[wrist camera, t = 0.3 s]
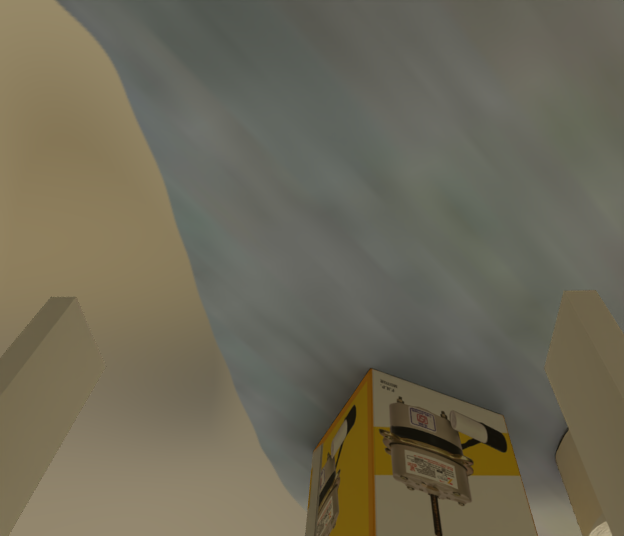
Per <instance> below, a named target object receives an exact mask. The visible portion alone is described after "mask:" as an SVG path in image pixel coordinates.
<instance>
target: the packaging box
mask: <svg viewBox="0 0 624 536" xmlns="http://www.w3.org/2000/svg"><path fill="white" fill-rule="evenodd" d="M305 536H538V534H537V531H536V527H535V524H534V520H533V517H532V513H531V510H530V506H529V503H528V499H527V496H526V493H525V489H524V486H523V482H522V479H521V475H520V472H519V468H518V465H517V461H516V458H515V454H514V451H513V447H512V444H511V440H510V437H509V434H508V430H507V427H506V423H505V420H504V416H503V415H500V414H497V413H495V412H492V411H489V410H486V409H483V408H481V407H478V406H475V405H472V404H469V403H467V402H464V401H461V400H458V399H455V398H453V397H450V396H447V395H444V394H441V393H439V392H436V391H433V390H430V389H428V388H425V387H422V386H419V385H416V384H414V383H411V382H408V381H405V380H402V379H400V378H397V377H394V376H391V375H388V374H386V373H383V372H380V371H377V370H374V369H372V368H371V369H370V370H369V371H368V373H367V374H366V376H365V377H364V378H363V380H362V381H361V383H360V384H359V386H358V387H357V389H356V390H355V392H354V393H353V394H352V396H351V397H350V399H349V400H348V402H347V403H346V405H345V406H344V408H343V409H342V410H341V412H340V413H339V415H338V416H337V418H336V419H335V421H334V422H333V424H332V425H331V426H330V428H329V429H328V431H327V432H326V434H325V435H324V437H323V438H322V440H321V441H320V442H319V444H318V445H317V447H316V448H315V450H314V451H313V458H312V468H311V479H310V490H309V500H308V511H307V522H306V533H305Z"/></svg>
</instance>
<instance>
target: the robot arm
mask: <svg viewBox="0 0 624 536" xmlns="http://www.w3.org/2000/svg"><path fill="white" fill-rule="evenodd" d="M105 368H106V365H105V363H104V360H103V358H102V356H101V353H100V351H99V349H98V346H97V344H96V342H95V339H94V337H93V335H92V332H91V330H90V328H89V325H88V323H87V321H86V318H85V316H84V314H83V311H82V309H81V307H80V304H79V302H78V300H77V298H76V297H51V298H50V299H49V300H48V301H47V302H46V304H45V305H44V306H43V307H42V308H41V310H40V311H39V312H38V313H37V314H36V316H35V317H34V318H33V319H32V320H31V322H30V323H29V324H28V325H27V326H26V328H25V329H24V330H23V331H22V332H21V334H20V335H19V336H18V338H16V340H15V341H14V342H13V343H12V344H11V346H10V347H9V348H8V349H7V350H6V352H5V353H4V354H3V355H2V357H1V358H0V536H9V534H10V532H11V531H12V529H13V527H14V526H15V524H16V522H17V520H18V519H19V517H20V515H21V513H22V512H23V510H24V508H25V506H26V505H27V503H28V501H29V500H30V498H31V496H32V494H33V493H34V491H35V489H36V487H37V486H38V484H39V482H40V480H41V479H42V477H43V475H44V473H45V472H46V470H47V468H48V466H49V465H50V463H51V461H52V459H53V458H54V456H55V454H56V452H57V451H58V449H59V447H60V446H61V444H62V442H63V440H64V439H65V437H66V435H67V433H68V432H69V430H70V429H71V427H72V425H73V423H74V422H75V420H76V418H77V416H78V415H79V413H80V411H81V409H82V408H83V406H84V404H85V402H86V401H87V399H88V397H89V396H90V394H91V392H92V390H93V389H94V387H95V385H96V383H97V382H98V380H99V378H100V377H101V374H102V373H103V371H104V370H105ZM544 369H545V372H546V374H547V377H548V379H549V381H550V384H551V386H552V389H553V391H554V394H555V396H556V399H557V401H558V404H559V406H560V408H561V411H562V413H563V416H564V418H565V421H566V423H567V426H568V428H569V430H570V433H571V435H572V438H573V440H574V443H575V445H576V448H577V450H578V452H579V455H580V457H581V460H582V462H583V465H584V467H585V470H586V472H587V474H588V477H589V479H590V482H591V484H592V487H593V489H594V492H595V494H596V496H597V499H598V501H599V504H600V506H601V509H602V511H603V514H604V516H605V518H606V521H607V523H608V526H609V528H610V531H611V533H612V536H624V334H623V332H622V331H621V329H620V328H619V326H618V324H617V323H616V321H615V320H614V318H613V317H612V315H611V313H610V312H609V310H608V309H607V307H606V306H605V304H604V302H603V301H602V299H601V298H600V296H599V295H598V293H597V291H596V290H587V291H564V292H563V296H562V300H561V304H560V308H559V312H558V316H557V320H556V324H555V328H554V332H553V336H552V339H551V343H550V347H549V351H548V355H547V359H546V363H545V367H544Z"/></svg>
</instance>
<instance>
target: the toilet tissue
mask: <svg viewBox="0 0 624 536" xmlns="http://www.w3.org/2000/svg"><path fill="white" fill-rule="evenodd" d="M555 458H556V464H557V466H558V470H559V472H560V475H561V477H562V481H563V484H564V486H565V489H566V491H567V494H568V497H569V500H570V504H571V505H572V508H573V512H574V514H575V516H576V519H577V523H578V525H579V527H580V530H581V533H582V536H612V533H611V531H610V528H609V526H608V523H607V521H606V518H605V516H604V514H603V511H602V509H601V506H600V504H599V501H598V499H597V496H596V494H595V492H594V489H593V487H592V484H591V482H590V479H589V477H588V474H587V472H586V470H585V467H584V465H583V462H582V460H581V457H580V455H579V452H578V450H577V448H576V445H575V443H574V440H573V438H572V435H571V433H570V430H568V432H567V433H566V434H565V436H564V438H563V440H562V442H561V444H560V446H559V448H558V450H557V452H556V457H555Z"/></svg>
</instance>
